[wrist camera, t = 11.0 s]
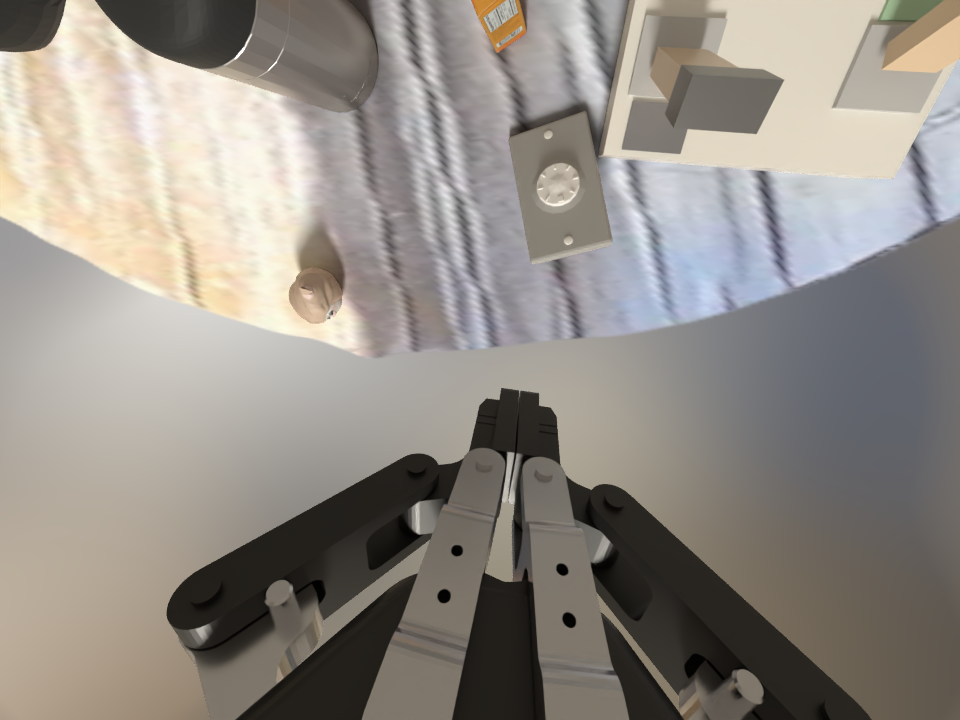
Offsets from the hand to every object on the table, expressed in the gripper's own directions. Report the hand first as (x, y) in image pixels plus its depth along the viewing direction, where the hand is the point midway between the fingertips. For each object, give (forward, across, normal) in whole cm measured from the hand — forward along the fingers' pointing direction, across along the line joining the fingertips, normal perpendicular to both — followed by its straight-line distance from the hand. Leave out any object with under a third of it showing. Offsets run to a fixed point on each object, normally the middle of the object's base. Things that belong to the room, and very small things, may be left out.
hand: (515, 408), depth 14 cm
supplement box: (+32, +5, -19) cm, 38 cm away
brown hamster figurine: (+32, +26, +8) cm, 42 cm away
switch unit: (+31, -18, -16) cm, 39 cm away
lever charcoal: (+26, -9, -16) cm, 32 cm away
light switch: (+32, -2, -6) cm, 32 cm away
